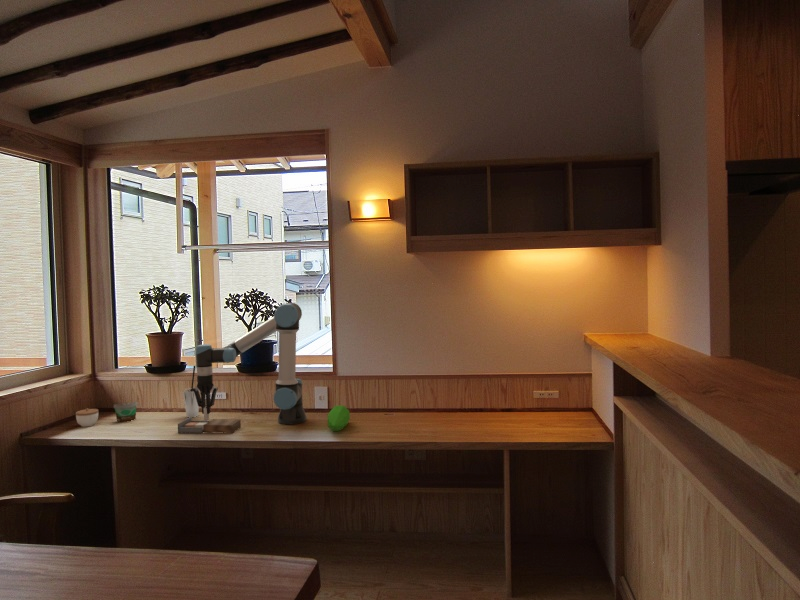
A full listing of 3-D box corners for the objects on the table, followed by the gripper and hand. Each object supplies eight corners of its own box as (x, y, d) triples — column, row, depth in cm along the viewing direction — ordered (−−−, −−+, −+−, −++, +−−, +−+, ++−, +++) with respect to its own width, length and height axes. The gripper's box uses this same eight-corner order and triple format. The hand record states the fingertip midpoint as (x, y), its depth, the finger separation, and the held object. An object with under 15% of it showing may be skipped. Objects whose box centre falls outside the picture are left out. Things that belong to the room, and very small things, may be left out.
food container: (116, 424, 291) (115, 405, 291) (113, 421, 296) (113, 404, 296) (140, 420, 299) (140, 402, 299) (138, 417, 304) (137, 400, 304)
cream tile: (208, 427, 280) (208, 422, 280) (204, 430, 275) (204, 425, 275) (199, 427, 280) (199, 422, 280) (195, 429, 275) (194, 425, 275)
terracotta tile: (189, 422, 280) (189, 427, 281) (184, 425, 276) (184, 429, 276) (198, 422, 280) (198, 427, 280) (193, 425, 275) (194, 429, 275)
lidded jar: (86, 428, 283) (85, 411, 283) (71, 427, 287) (70, 409, 286) (103, 423, 294) (103, 406, 293) (88, 422, 297) (88, 405, 297)
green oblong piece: (346, 399, 288) (339, 410, 258) (355, 418, 288) (348, 432, 258) (327, 407, 288) (317, 420, 258) (335, 426, 288) (327, 441, 258)
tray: (213, 426, 284) (212, 416, 283) (201, 433, 271) (201, 423, 270) (190, 426, 285) (190, 416, 285) (178, 433, 272) (177, 423, 271)
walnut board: (240, 427, 281) (240, 419, 281) (232, 433, 270) (232, 425, 270) (213, 426, 283) (212, 419, 282) (203, 432, 272) (203, 425, 271)
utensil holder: (196, 419, 298) (194, 365, 297) (178, 418, 301) (176, 365, 299) (207, 414, 309) (205, 362, 308) (189, 413, 311) (187, 362, 310)
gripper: (189, 376, 273) (191, 421, 274) (213, 375, 272) (215, 421, 273) (196, 373, 280) (197, 417, 281) (220, 373, 279) (221, 417, 280)
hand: (206, 419), depth 277 cm, fingers closed
